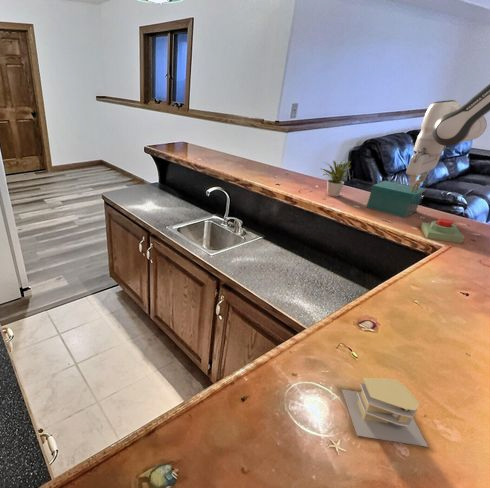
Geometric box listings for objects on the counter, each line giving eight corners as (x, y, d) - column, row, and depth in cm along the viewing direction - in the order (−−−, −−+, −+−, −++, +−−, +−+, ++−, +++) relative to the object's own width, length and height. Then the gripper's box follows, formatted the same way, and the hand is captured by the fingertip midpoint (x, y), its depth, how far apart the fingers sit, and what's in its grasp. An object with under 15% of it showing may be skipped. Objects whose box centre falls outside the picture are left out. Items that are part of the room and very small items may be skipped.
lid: (425, 190, 139) (429, 179, 137) (414, 196, 132) (418, 184, 130) (384, 182, 150) (387, 171, 148) (372, 187, 143) (375, 175, 141)
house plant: (328, 187, 172) (335, 154, 165) (355, 195, 162) (364, 159, 155) (311, 192, 165) (317, 158, 158) (338, 200, 155) (346, 164, 148)
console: (453, 231, 124) (457, 221, 123) (461, 243, 116) (466, 232, 114) (420, 227, 128) (423, 217, 126) (426, 238, 120) (430, 227, 118)
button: (448, 224, 121) (450, 219, 121) (452, 228, 118) (454, 223, 117) (435, 222, 123) (437, 218, 122) (438, 226, 120) (440, 222, 119)
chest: (416, 211, 143) (423, 190, 139) (404, 217, 137) (411, 196, 133) (378, 201, 154) (384, 182, 150) (366, 207, 147) (372, 187, 143)
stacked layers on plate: (356, 435, 54) (365, 411, 52) (341, 389, 62) (348, 366, 60) (427, 447, 53) (440, 422, 50) (402, 398, 60) (412, 374, 58)
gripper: (428, 151, 121) (415, 190, 128) (447, 145, 133) (435, 180, 139) (408, 149, 126) (396, 186, 132) (428, 142, 137) (417, 177, 143)
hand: (416, 183), depth 136 cm, fingers open, 8 cm apart
